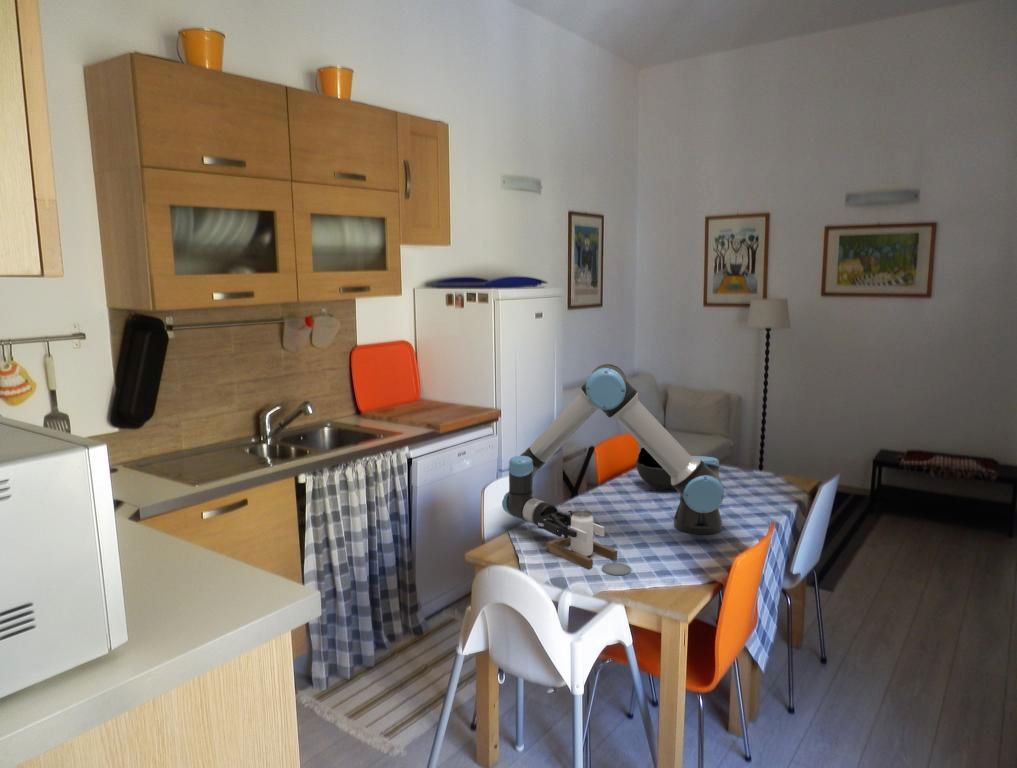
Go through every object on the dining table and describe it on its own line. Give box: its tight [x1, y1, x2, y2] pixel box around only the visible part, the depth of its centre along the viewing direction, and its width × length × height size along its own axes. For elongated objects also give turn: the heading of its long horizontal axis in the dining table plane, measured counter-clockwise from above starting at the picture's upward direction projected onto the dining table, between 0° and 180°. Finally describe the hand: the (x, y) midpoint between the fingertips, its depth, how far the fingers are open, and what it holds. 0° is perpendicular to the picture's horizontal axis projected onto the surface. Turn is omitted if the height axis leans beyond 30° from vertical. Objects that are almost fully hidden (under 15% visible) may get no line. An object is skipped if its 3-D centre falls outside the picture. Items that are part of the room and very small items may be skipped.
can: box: [570, 509, 594, 557], centre depth 210 cm, size 6×6×12 cm
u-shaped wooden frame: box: [545, 536, 618, 570], centre depth 211 cm, size 12×18×2 cm, turn 39°
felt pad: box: [601, 562, 632, 577], centre depth 201 cm, size 8×8×1 cm
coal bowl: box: [635, 446, 674, 490], centre depth 276 cm, size 20×20×19 cm
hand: (594, 534), depth 206 cm, fingers closed on can, 6 cm apart
